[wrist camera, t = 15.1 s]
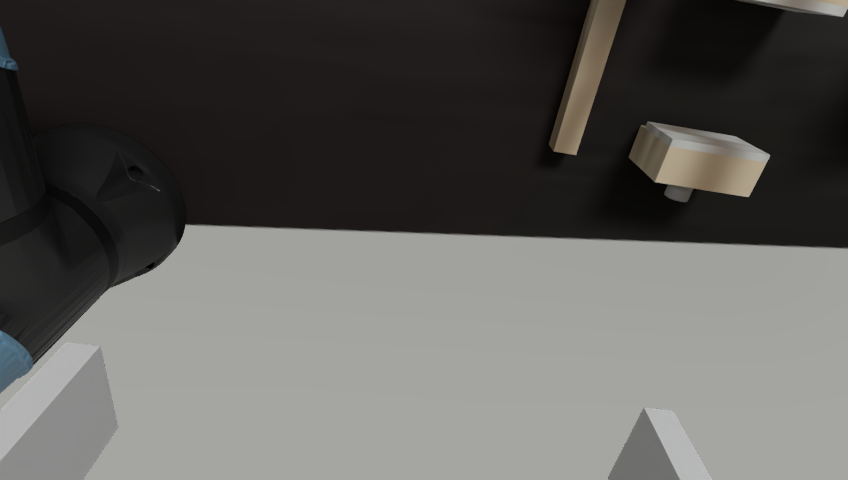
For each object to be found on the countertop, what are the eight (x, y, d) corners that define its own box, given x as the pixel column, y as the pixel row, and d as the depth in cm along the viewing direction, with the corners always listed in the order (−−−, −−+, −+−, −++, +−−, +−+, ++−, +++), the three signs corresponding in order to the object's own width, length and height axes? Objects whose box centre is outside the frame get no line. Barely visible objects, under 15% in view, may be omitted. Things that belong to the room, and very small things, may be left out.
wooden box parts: (542, 165, 45) (557, 190, 40) (614, -80, 36) (645, -89, 31) (702, 190, 46) (737, 218, 41) (811, -42, 37) (874, -44, 32)
